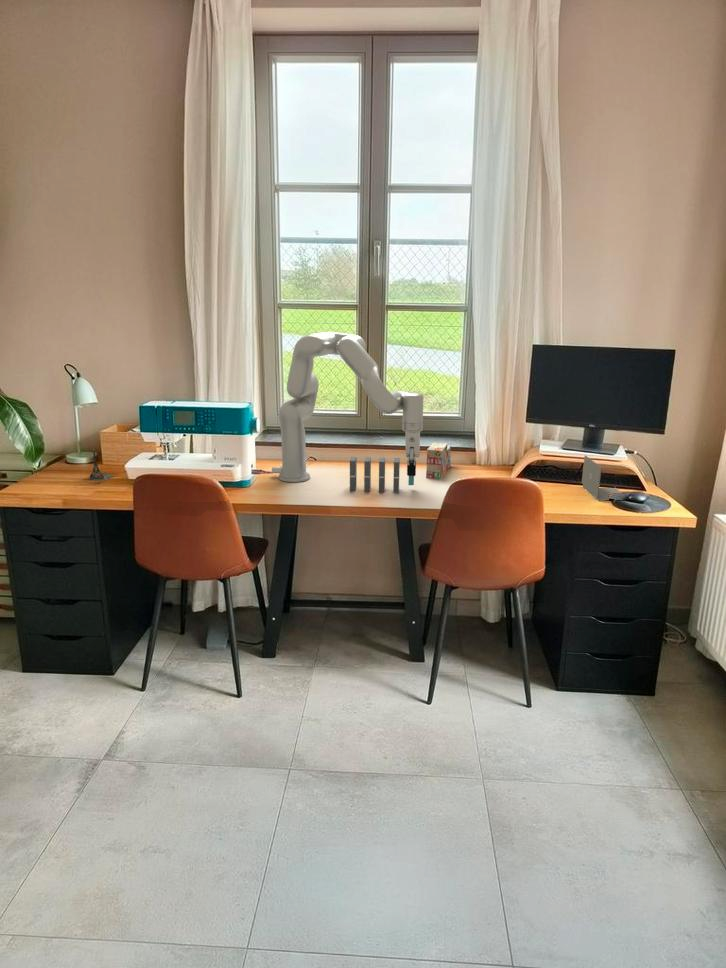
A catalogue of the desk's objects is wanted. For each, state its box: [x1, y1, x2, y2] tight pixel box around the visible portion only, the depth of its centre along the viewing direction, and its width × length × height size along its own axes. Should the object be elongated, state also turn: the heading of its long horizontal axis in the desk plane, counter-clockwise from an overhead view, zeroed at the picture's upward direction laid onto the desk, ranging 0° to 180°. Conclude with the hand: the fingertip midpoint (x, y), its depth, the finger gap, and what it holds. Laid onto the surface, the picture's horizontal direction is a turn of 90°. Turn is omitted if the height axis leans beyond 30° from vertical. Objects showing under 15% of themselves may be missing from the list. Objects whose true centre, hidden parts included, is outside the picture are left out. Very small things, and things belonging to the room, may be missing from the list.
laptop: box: [581, 455, 622, 502], centre depth 249 cm, size 18×12×13 cm
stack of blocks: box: [425, 442, 452, 480], centre depth 276 cm, size 21×6×12 cm, turn 163°
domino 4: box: [392, 457, 401, 494], centre depth 251 cm, size 2×6×12 cm, turn 175°
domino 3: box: [378, 457, 386, 493], centre depth 252 cm, size 2×6×12 cm, turn 175°
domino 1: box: [349, 456, 358, 493], centre depth 252 cm, size 2×6×12 cm, turn 175°
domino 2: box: [363, 456, 372, 493], centre depth 252 cm, size 2×6×12 cm, turn 175°
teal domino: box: [407, 455, 415, 486], centre depth 250 cm, size 2×6×12 cm, turn 175°
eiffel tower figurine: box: [88, 447, 116, 485], centre depth 264 cm, size 15×10×13 cm
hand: (411, 472), depth 250 cm, fingers closed on teal domino, 6 cm apart
